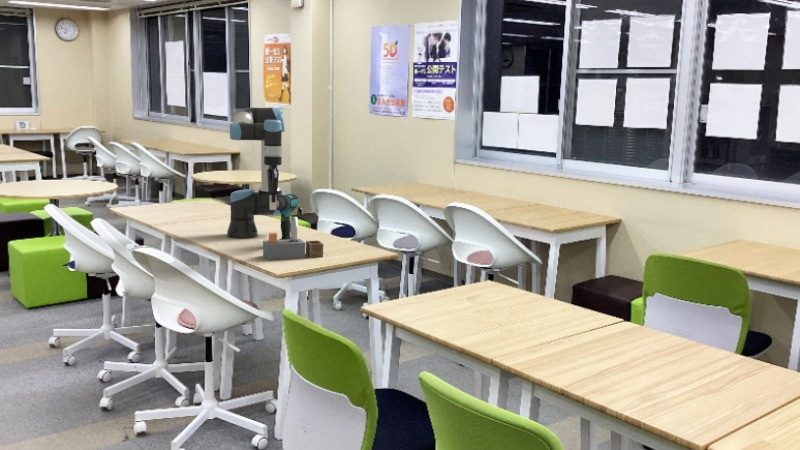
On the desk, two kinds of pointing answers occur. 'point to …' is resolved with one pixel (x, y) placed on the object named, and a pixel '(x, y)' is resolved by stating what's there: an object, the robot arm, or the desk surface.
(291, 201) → the power drill
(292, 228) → the cylinder
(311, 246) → the hollow brown square tube
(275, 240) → the plunger
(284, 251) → the socket block
